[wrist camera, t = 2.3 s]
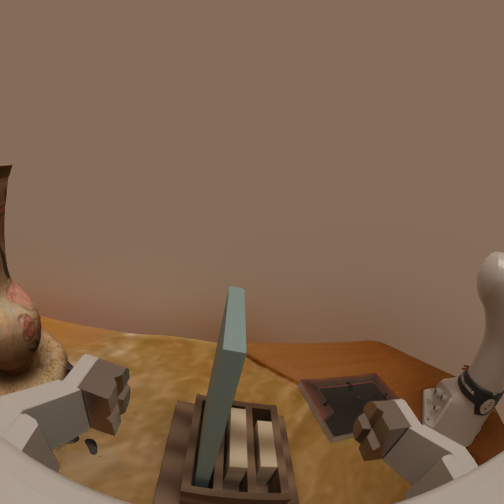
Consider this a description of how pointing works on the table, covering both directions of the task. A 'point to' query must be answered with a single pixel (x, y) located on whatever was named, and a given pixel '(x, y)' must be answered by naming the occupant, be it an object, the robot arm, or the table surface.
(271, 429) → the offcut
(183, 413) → the rack
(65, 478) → the robot arm
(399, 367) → the table surface
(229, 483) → the block
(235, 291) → the sheet
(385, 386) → the picture frame
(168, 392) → the table surface
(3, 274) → the vase
